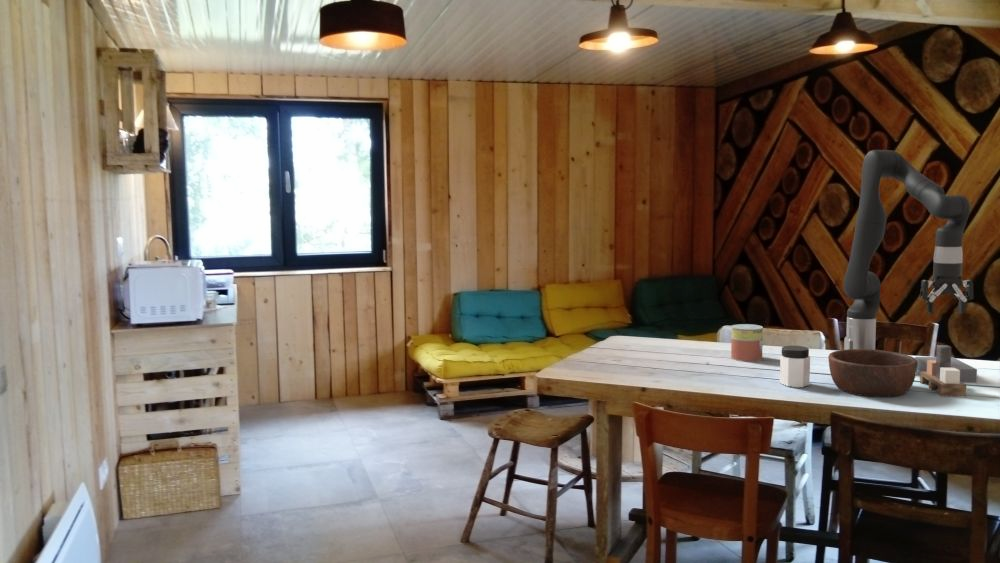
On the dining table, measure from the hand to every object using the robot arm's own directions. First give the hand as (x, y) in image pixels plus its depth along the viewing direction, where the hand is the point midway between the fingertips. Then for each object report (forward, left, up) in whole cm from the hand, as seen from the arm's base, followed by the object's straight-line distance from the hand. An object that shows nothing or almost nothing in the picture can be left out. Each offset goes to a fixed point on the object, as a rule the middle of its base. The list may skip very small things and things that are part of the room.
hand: (945, 313), depth 231 cm
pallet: (0, 0, -24) cm, 24 cm away
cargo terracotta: (0, +5, -20) cm, 21 cm away
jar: (-43, +3, -24) cm, 49 cm away
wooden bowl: (-21, -1, -24) cm, 32 cm away
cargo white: (0, -5, -20) cm, 21 cm away
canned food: (-52, +41, -24) cm, 70 cm away
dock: (+8, +19, -24) cm, 31 cm away
